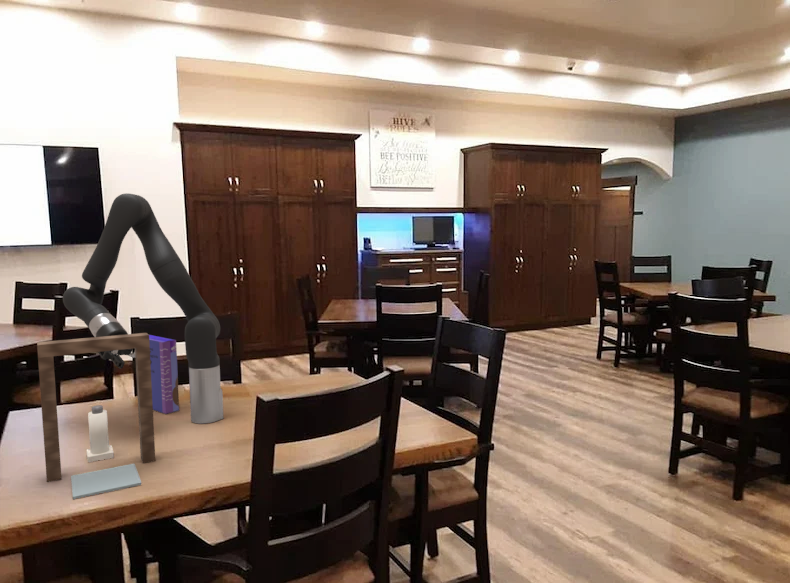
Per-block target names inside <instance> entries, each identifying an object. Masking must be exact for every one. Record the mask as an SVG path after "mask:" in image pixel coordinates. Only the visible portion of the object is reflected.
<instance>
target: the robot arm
mask: <svg viewBox="0 0 790 583" xmlns="http://www.w3.org/2000/svg"><path fill="white" fill-rule="evenodd" d="M131 229H132V230H133V231H134V233H135V235H136V236H137V237H138V239H139V241H140V243H141V245H142V247H143V248H142V249H143V253H144V256H145V260H146V264H147V265H148V269H149V270H150V272H151V273H152V276H153V277H154V278H155V280H156V282H157V284H158V285H159V286H160V288H161V289H162V290H163V291H164V292H165V294H167V296H169V297H170V298H171V299H172V301H174V302H175V303H176V304H177V306H178V307H179V308H180V310H181V311H182V313H183V314H184V316H185V318H186V320H187V323H186V324H185V327H184V343H185V356H186V357H185V358H186V359H187V361H188V377H189V378H188V380H189V381H188V382H189V383H188V384H189V403H190V405H189V406H190V407H189V408H190V409H189V410H190V422H192V423H194V424H209V423H210V424H211V423H214V422H218V421H221V420H224V400H223V389H222V388H221V369H220V368H221V367H220V362H221V361H220V355H218V352H217V351H218V350H217V338H218V337H219V335H220V334H221V325H220V321H219V319H218V318H217V316H216V315H215V314H214V313H213V311H212V310H211V308H210V307H209V306H208V305H207V303H206V302H205V300H204V299H203V298H202V296H201V294H200V293H199V290H198V288H197V286H196V284H195V283H194V281H193V280H192V277H191V275H190V274H189V272H188V270H187V268H186V266H185V265H184V263H183V261H182V259H181V258H180V257H179V255H178V254H177V252H176V250H175V248H174V247H173V245H172V244H171V242H170V241H169V239H168V237H167V236H166V234H164V232H163V230H162V228H161V227H160V224H159V222H158V220H157V218H156V216H155V213H154V211H153V209H152V206H151V204H150V203H149V202H148V200H147V199H146V198H145V197H143V196H141V195H139V194H133V193H122V194H118V195H117V196H116V197H115V198H114V200H113V202H112V204H111V207H110V210H109V212H108V215H107V219H106V222H105V225H104V227H103V230H102V233H101V235H100V237H99V239H98V243H97V244H96V247H95V248H94V251H93V253H92V255H91V256H90V258H89V260H88V262H87V264H86V265H85V267H84V269H83V272H82V274H81V278H82V280H83V281H85V283H88V284H89V288H83V287H80V286H79V287H78V286H72V287H69V288H67V289H66V290H65V291H64V292H63V295H62V303H63V305H64V307H65V308H66V309H67V311H69V313H71V314H73V315H74V316H75V317H77V318H78V319H80V320H81V321H83V323H84V324H85V326H87V328H88V330H90V332H91V335H93V337H104V336H115V335H126V334H129V333H128V331H127V330H126V329H125V328H124V327H123V326H122V324H121V323H120V322H119V321H118V319H116V318H115V316H113V315H112V314H111V313H110V311H109V310H108V309H107V308H106V307H105V306H104V305H102V304H103V300H104V294H105V291H106V285H107V282H108V280H109V278H110V276H111V275H112V273H113V271H114V269H115V267H116V265H117V262H118V260H119V259H118V258H119V255H120V250H121V247H122V244H123V241H124V239H125V238H126V235H127V234H128V232H129V231H130V230H131ZM133 350H134V348H132V349H122V350H112V351H102V352H97V353H98V355H99V356H100V358H101V360H105V361H106V360H107V359H108V361H110V362H112V363H113V364H114V365H115V367H117V368H118V369H120V370H121V369H123V368H124V367H125V361H124V360H123V358H122V357H121V356H129V357H130V358H132V359H134V358H135V351H133ZM132 352H133V353H132ZM150 353H151V351H150ZM150 362H151V363H152V361H151V360H150Z"/></svg>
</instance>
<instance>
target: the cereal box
mask: <svg viewBox="0 0 790 583" xmlns="http://www.w3.org/2000/svg"><path fill="white" fill-rule="evenodd" d="M149 342H150V351H151V353H150V360H151V361H152V363H151V382H152V402H153V411H155V412H157V411H158V413H161V414H163V415H169V414H172V413H173V414H174V413H177V412H179V411H180V396H179V380H178V379H179V377H178V376H179V375H178V356H177V355H178V354H177V339H172V338H167V337H163V336H158V335H157V336H156V335H152V334H149Z"/></svg>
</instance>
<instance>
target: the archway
mask: <svg viewBox="0 0 790 583" xmlns="http://www.w3.org/2000/svg"><path fill="white" fill-rule="evenodd" d="M149 335H150V334H148V332H139V333H130V334H129V333H128V334H126V335H115V336H104V337H94V336H93V337H83V338H72V339H71V338H70V339H58V340H49V341H38V342H37V345H36V346H37V360H38V362H37V363H38V375H39V389H40V390H39V392H40V403H41V404H40V405H41V406H40V407H41V419H42V432H43V445H44V448H43V449H44V458H45V461H44V462H45V463H44V464H45V472H46V473H45V474H46V483H50V482H55V481H59V480H60V481H61V480H62V465H61V464H62V463H61V450H60V449H61V448H60V435H59V422H58V419H59V418H58V406H57V393H56V376H55V362H54V361H55V360H54V357H57V356H58V357H60V356H61V357H62V356H71V355H80V354H89V353H90V354H91V353H92V354H93V353H98V352H102V351H110V352H111V351H112V350H122V349H132V348H133V349H134V352H135V357H134V358H135V373H136V377H135V378H136V391H137V393H136V395H137V409H138V410H137V411H138V413H137V414H138V432H139V433H138V435H139V450H140V451H139V452H140V461H141V462H142V464H147V463H151V461H152V462H155V461H156V448H155V446H156V445H155V424H154V410H153V402H152V382H151V362H150V342H149ZM146 462H147V463H146ZM49 481H50V482H49Z"/></svg>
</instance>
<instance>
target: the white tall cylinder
mask: <svg viewBox="0 0 790 583" xmlns="http://www.w3.org/2000/svg"><path fill="white" fill-rule="evenodd" d="M87 415H88V416H87V419H88V420H87V421H88V433H89V434H88V435H89V449H88V448H87V449H85V450H86V459H87V463H88V462H89V463H94V462H99V461H98V460H100V461H104V459H105V460H110V458H111V459H114V458H115V454H114V449H113V446H112V444H111V445H110V443H109V439H110V438H109V422H108V421H109V420H108V410H106V409H104V405H99V404H97V405H93V406H91V411H89V412H88V413H87ZM93 461H94V462H93Z"/></svg>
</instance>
